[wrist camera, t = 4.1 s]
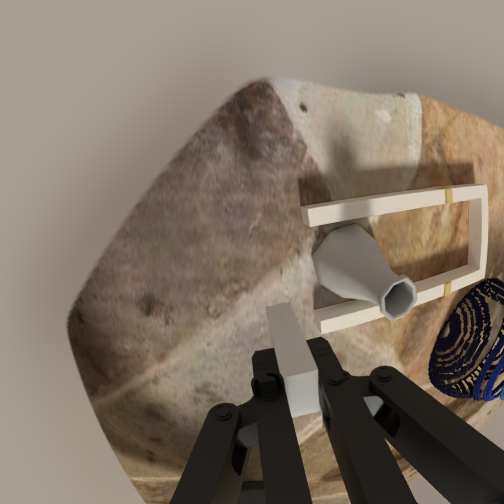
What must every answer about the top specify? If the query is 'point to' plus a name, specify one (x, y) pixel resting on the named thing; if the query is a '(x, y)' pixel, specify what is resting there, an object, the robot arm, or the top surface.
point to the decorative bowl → (470, 348)
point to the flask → (362, 272)
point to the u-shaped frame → (400, 201)
